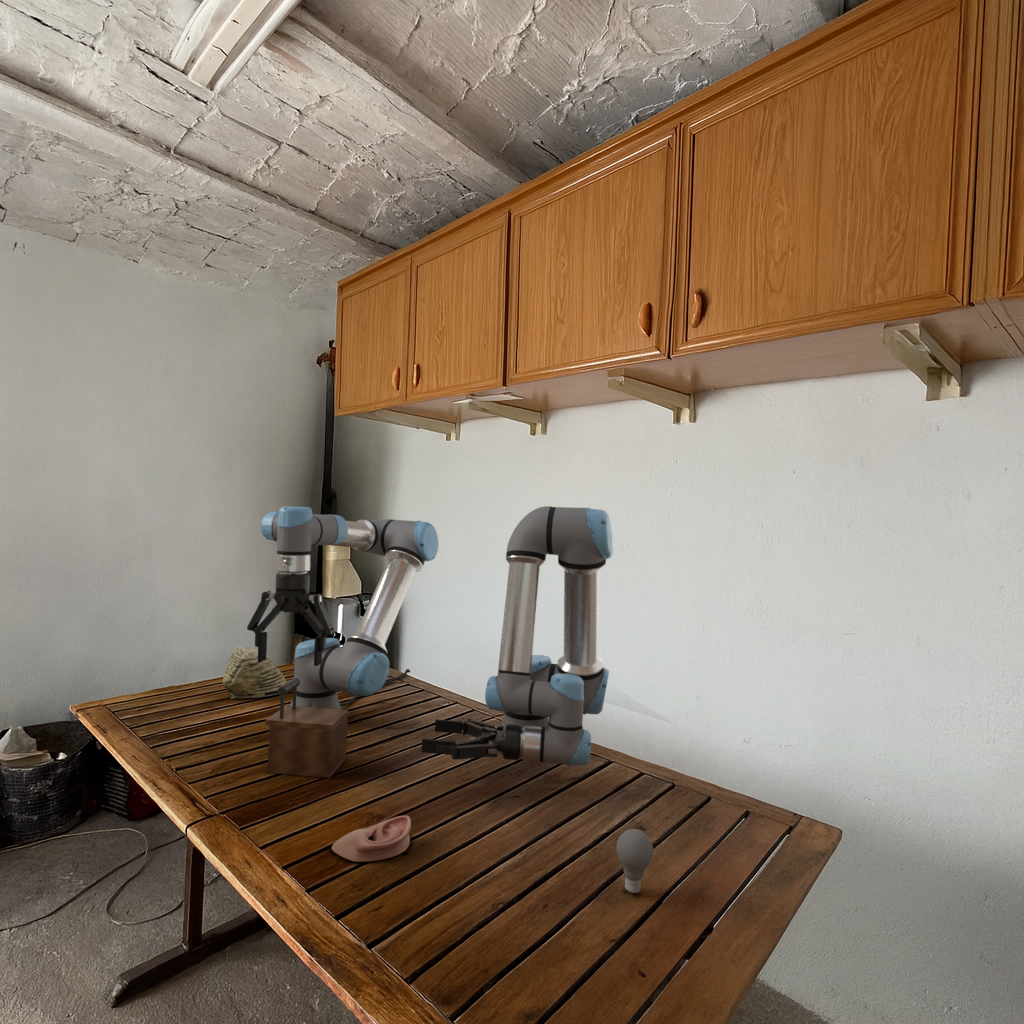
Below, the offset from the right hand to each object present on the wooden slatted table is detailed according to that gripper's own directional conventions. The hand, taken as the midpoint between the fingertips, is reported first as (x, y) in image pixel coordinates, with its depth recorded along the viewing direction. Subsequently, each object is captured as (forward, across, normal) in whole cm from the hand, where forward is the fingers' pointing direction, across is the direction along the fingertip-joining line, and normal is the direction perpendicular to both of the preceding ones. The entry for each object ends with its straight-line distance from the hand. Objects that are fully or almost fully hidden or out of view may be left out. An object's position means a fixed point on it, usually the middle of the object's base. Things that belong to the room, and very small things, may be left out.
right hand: (428, 734), depth 145 cm
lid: (+29, +1, +1) cm, 29 cm away
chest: (+29, +1, -10) cm, 30 cm away
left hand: (+34, 0, +14) cm, 37 cm away
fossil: (+66, +48, -9) cm, 82 cm away
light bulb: (-43, -35, -11) cm, 57 cm away
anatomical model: (+3, -29, -11) cm, 31 cm away
